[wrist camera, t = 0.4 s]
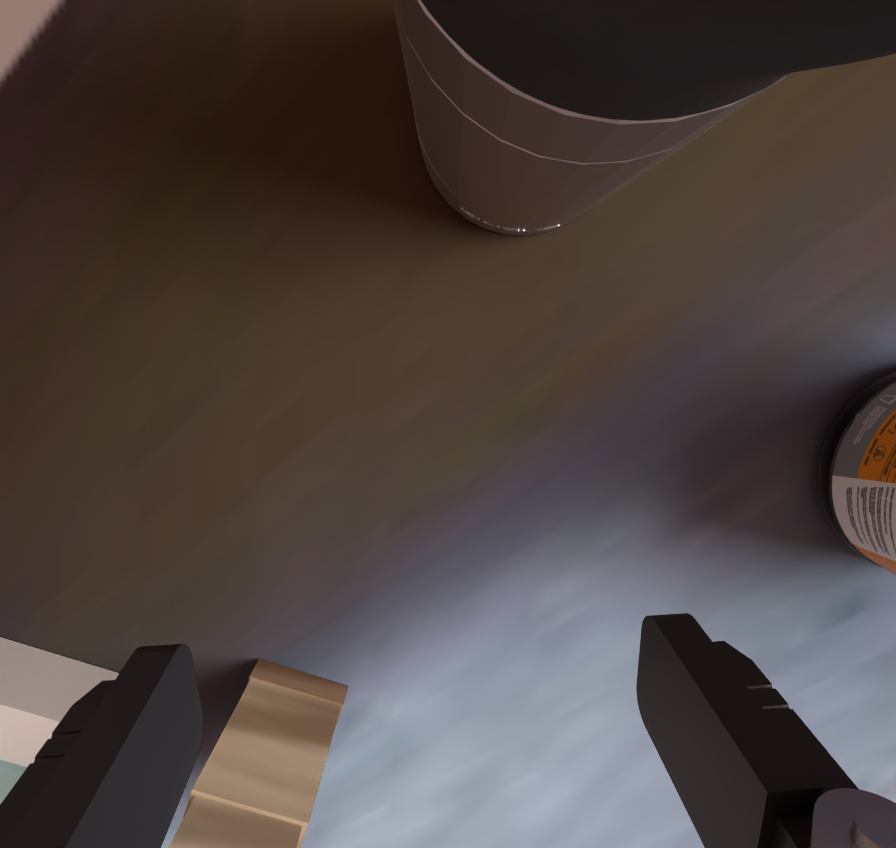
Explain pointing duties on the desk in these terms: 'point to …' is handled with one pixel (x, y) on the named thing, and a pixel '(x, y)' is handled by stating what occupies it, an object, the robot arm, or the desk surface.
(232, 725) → the wooden block tower
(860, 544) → the supplement container
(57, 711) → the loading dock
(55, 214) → the desk surface
